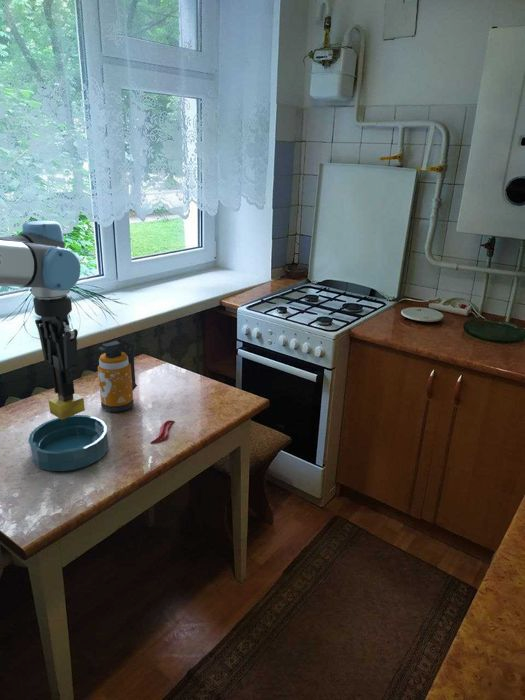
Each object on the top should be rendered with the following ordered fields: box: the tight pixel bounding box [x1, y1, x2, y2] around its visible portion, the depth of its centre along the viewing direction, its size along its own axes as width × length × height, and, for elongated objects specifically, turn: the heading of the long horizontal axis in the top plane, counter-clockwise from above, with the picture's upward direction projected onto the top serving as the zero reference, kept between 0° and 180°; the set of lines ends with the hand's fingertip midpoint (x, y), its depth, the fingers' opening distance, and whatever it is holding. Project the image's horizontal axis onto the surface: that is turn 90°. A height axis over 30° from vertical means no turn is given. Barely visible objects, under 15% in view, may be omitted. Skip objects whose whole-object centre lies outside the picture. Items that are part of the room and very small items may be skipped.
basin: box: [27, 414, 109, 472], centre depth 120 cm, size 18×18×6 cm
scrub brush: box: [48, 354, 86, 420], centre depth 114 cm, size 6×5×14 cm
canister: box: [97, 338, 138, 413], centre depth 141 cm, size 9×11×20 cm
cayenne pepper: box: [150, 419, 175, 444], centre depth 131 cm, size 12×5×2 cm, turn 154°
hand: (64, 392), depth 115 cm, fingers closed on scrub brush, 2 cm apart
